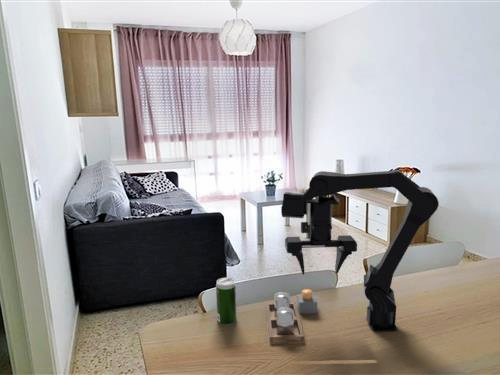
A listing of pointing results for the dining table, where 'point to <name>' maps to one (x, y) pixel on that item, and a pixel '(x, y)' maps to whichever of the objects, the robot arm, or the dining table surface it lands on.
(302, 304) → the grey square block
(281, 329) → the billet
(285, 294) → the seated billet
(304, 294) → the button
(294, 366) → the dining table surface
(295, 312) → the pallet
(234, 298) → the green soda can
